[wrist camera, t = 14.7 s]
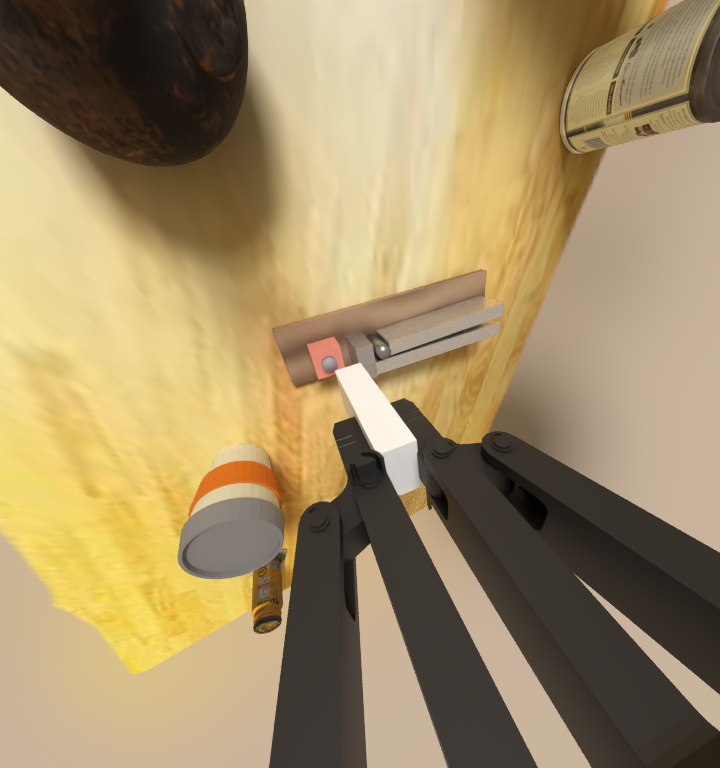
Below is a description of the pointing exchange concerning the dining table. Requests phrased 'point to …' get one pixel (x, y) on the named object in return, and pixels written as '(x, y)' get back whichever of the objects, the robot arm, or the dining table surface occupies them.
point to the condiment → (268, 595)
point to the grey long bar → (415, 348)
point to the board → (369, 320)
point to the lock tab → (326, 357)
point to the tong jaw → (434, 325)
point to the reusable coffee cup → (233, 516)
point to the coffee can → (647, 80)
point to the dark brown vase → (129, 72)
